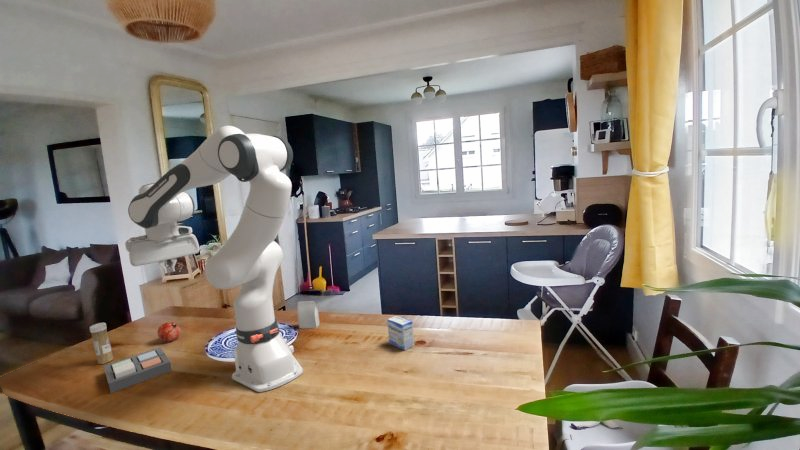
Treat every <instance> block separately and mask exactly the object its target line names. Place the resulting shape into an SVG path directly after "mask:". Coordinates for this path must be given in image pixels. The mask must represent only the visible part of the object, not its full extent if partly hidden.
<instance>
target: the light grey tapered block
mask: <svg viewBox="0 0 800 450" xmlns="http://www.w3.org/2000/svg"><path fill="white" fill-rule="evenodd" d="M297 320H298V329H301V330H302V329H317V328H318V327H319V326H320V315H319V308H318V307H317V303H316V301H315V300H310V301H309V300H307V301H297Z"/></svg>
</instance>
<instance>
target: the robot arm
mask: <svg viewBox="0 0 800 450" xmlns="http://www.w3.org/2000/svg"><path fill="white" fill-rule="evenodd" d="M293 159H294V152H293V149H292V146H291V145H290V143H289V141H287V140H286V139H284V138H282V137H280V136H277V135H267V134H261V133H245V132H244V131H242V130H241V128H238V127H236V126H233V125H224V126H222V127H219V128H218V129H216V130H215V131H214V132H213V133H211V134H210V135H209V136H208V137H207V138H206V139H204V141H203V142H202V143H201V144H200V145H199V146H198V147H197V149H196V150H195V151H193V152H192V153H191V154H190V155H189V156H188V157H186V158H185V159H183V160H182V161H181V162H179V163H178V164H175V166H173V167H172V168H170V169H169V170H168V171H166V173H165V174H163V175H162V176H161V177H160V178H159V179H157V181H156V182H150V183H147V184H145V185H142V186H140V187H139V188H138V194H137V195H135V196H133V198H132V199H131V201H130V203H129V205H128V210H127V212H128V216H129V218H130V220H131V221H132V222H133V223H134V224H136V225H137V226H139V227H141V228H143V229H144V232H145V234H144V235H139V236H136V237H135V236H133V237H129V239H127V240H126V241H125V244H124V245H125V249H126V251H127V252H128V256H129V263H130V265H131V266H133V267H140V266H145V265H149V264H155V263H158V265H159V266H160V267H161V268H162V269H163V273H164V274H166V275H167V274H171V273H174V272H175V273H176V270H175V266H176V265H177V262H178V260H177V259H178V258H182V257H186V256H192V255H195V254H199V252H200V250H201V249H200V244H199V241H198V239H197V237H196V235H195V234H193V228H192V227H191V226H185V225H179V224H178V225H177V224H176V222H183V221H185V220H186V221H187V219H190V218H192V216H193V215H194V212H195V210H196V209H195V201H194V199H193V197H192V196H191V195H190V194H189V193H187V192H186V191H189V190H193V189H197V188H202V187H207V186H211V185H215V184H218V183H220V182H222V181H223V180H225V179H227V178H228V177H229V176H230V175H233V176H235V178H236V179H237V180H238V181H240V182H241V183H247V182H249V187H250V188H249V193H248V194H247V198H246V201H245V203H244V207H243V209H242V212H241V215H240V218H239V221H238V223H237V225H236V227H235V228H234V230H233V231H232V233H231V234H230V236H229V237H228V239H227V240H226V241H225V243H224V244H223V246H221V248H219V250H218V251H216V253H214V254H213V256H211V257H209V258H208V260H207V261H206V263H205V266H204V274H205V277H206V280H207V281H208V283H209V284H210V285H211V286H212V287H213V288H215V289H218V290H226V289H232V288H237V287H241V289H240V291H239V293H238V294H237V296H236V298H235V300H234V302H233V310H234V316H235V322H236V323H235V324H236V328H235V336H236V339H237V341H238V342H237V344H236V346H235V348H234V349H233V352H234V361H235V364H234V365H235V371H234V372H233V373H232V374H231V379H232V380H234V381H235V382H237V383H239V384H241V385H243V386H245V387H246V388H247V387H248V388H249V389H251V390H253V391H255V392H258V393H262V392H267V391H270V390H273V389H277V388H278V387H281V386H283V385H285V384H288V383H289V382H291V381H293V380H294V379H297V378H298V377H299V376H301V375H302V374H303V372H304V369H303V367H302V365H300V363H299V361H298V360H297V359H296V357H295V356H294V355H293V354H294V352H295V348H294V346H293V345H288V344H287V343H288V339H287V338H284V337H283V335H282V332H281V331H280V328H279V323H278V321H277V319H276V317H275V309H274V301H273V291H274V285H275V284H274V283H275V279H276V275H277V272H278V269H279V268H280V266H281V265H282V263H283V260H284V254H283V249H282V247H281V246H280V245H279V243H277V241H275V240H276V238H277V237H278V235H279V232H280V229H281V226H282V224H283V221H284V219H285V216H286V213H287V212H288V211H287V210H288V208H289V203H290V200H291V194H292V190H293V189H292V187H293V185H292V181H291V179H290V178H289V177H288V176H287V175H286V174H285V173H283V171H285V170H287V169H288V168H289V167H290V166H291V165H292V162H293ZM168 260H170V261H171V265H170V266H168V267H167V266H165V265H164V264H165V261H168Z"/></svg>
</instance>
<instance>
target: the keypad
mask: <svg viewBox="0 0 800 450" xmlns="http://www.w3.org/2000/svg"><path fill="white" fill-rule="evenodd" d="M152 351H155V352H156V353H157V355H158V356H156V357H153V358H150V359H147V360H144V361H141V362H139V361H138V357H137V356H139V355H142V354H145V353H148V352H152ZM157 357H159V358H160V360H161V361H162V363H160V364H157V365H154V366H152V367H149V368H146V369H143V370H142V366H141V363H142V362H145V361H148V360H151V359H154V358H157ZM127 359H131V361H132V362H133V364H134V366H135V369H136V372H135V373H132V374H129V375H126V376H123V377H120V378H118V379H116V377H115V373H114V371H113V368H112V364H115V363H118V362H121V361H124V360H127ZM103 368H104V373H105V377H106V381H107V385H108V388H109V391H110V394H112V393H115V392H118V391H121V390H123V389H126V388H129V387H131V386H134V385H137V384H140V383H143V382H144V381H148V380H151V379H154V378H156V377H159V376H161V375H164V374H167V373H169V372H172V371H173V369H172V363H171V361H170V359H169V358H168V356H167V355H166V353H165V352H164V350H163V349H162V347H156V348H153V349H150V350H148V351H145V352H142V353H138V354H134V355H132V356H130V357H126V358H123V359H120V360H117V361H113V362H111V363H106V364H105V365H104V364H103ZM158 375H159V376H158Z"/></svg>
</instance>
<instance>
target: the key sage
mask: <svg viewBox="0 0 800 450" xmlns="http://www.w3.org/2000/svg"><path fill="white" fill-rule="evenodd" d="M131 362H132V361H131V359H127V360H124V361H121V362H118V363H115V364H112V368H116V367H119V366H122V365H125V364H128V363H131ZM113 371H114V369H113Z"/></svg>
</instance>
